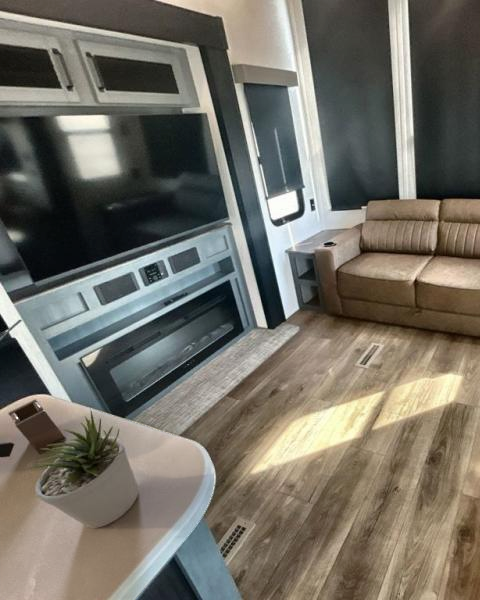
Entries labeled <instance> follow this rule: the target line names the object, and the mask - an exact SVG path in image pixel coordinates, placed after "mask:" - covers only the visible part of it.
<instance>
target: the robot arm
mask: <svg viewBox="0 0 480 600" xmlns="http://www.w3.org/2000/svg"><path fill="white" fill-rule="evenodd" d="M22 321H23V320H22V319H18V320H17V321H16V322H15V323H14V324H13V325H11V326H10V327H9V328H8V329H7V330H8V331H7V330H6V331H7V332H6V331H5V332H6V333H5V332H4V333H5V334H4V333H3V334H4V335H3V334H2V335H3V336H2V335H1V336H0V342H2V340H3V339H4V338H5V337H6V336H7V335H8V334H9V333H10V332H11V331H12V330H13V329H14V328H16V327H17V326H18V325H19V324H20V323H21V322H22ZM14 447H15V443H14V442H0V458H10V456H11V454H12V452H13V449H14Z"/></svg>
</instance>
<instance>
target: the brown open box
mask: <svg viewBox="0 0 480 600" xmlns="http://www.w3.org/2000/svg"><path fill="white" fill-rule="evenodd" d="M8 416H10V417H11V420H12V421H13V422H14V425H15V427H16V428H17V430H19V432H20V433H21V434H22V435H23V436H24V437H25V439H26V440H27V441H28V442H29V444H30V445H31V446H32V447H33V448H34V449H35V450H36V451H37V453H38V454H39V455H41V454H43V453H45V452H46V451H47V450H42V449H47V448H48V449H52V448H54V446H47V445H51V444H59V443H62V442H63V441H65V440H67V438H66V436H65V435H64V433H63V432H62V430H61V429H59V428H60V427H58V425H56V423H55V422H54V421H53V419H52V418H51V417H50V416H49V415H48V413H47V412H46V410H45V409H44V407H42V405H41V404H40V403H39V401H38V400H37V398H36V399H33V400H31V401H29V402H27V403H25V404H23V405H21V406H19V407H17V408H15V409H12V410H11V411H9V412H8Z"/></svg>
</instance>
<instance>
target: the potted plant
mask: <svg viewBox="0 0 480 600" xmlns="http://www.w3.org/2000/svg"><path fill="white" fill-rule="evenodd" d="M89 411H90V419H88V417H86V416H84V419H85V421H86V425H85V424H84V423H83V422H82V421H79V422H80V425H82V427H83V428H84V431H85V435H84V434H82V433H79V432H76V431H73V430H70V429H65V428H62V427H61V428H60V427H58V428H59V430H61V431H65V432H67V433H69V434H72V435H73V436H74V437H76V438H72V439H70V441H74V442H60V443H58V444H51V445H47V446H53V447H52V448H50V449H48V448H47V449H42V450H46V451H51V452H54V453H57V454H54V455H51V456H48V457H44V458H41V459H39V460H38V461H37V462H38V463H37V464H38V465H35V466H31V467H29V468H28V470H29V469H35V468H36V469H37V468H42V467H43V468H44V467H47V468H46V469H45V470H44V471H43V472H42V474H41V475H40V477H39V478H38V480H37V482H36V484H35V486H34V493H35V496H36V498H38V499H39V500H41V501H43V502H44V503H46V504H49V505H51V506H53V507H54V508H56V509H58V510H59V511H61V512H63V513H64V514H66V515H67V516H68V517H70V518H71V519H74V520H75V521H76V522H78V523H79V524H81V525H83V526H85V527H87V528H90V529H96V528H102V527H105V526H107V525H109V524H111V523H113V522H115V521H117V520H118V519H120V518H121V517H122V516H124V515H125V514H126V512H128V511H129V510H130V508H131V507H133V505H134V503H135V501H136V499H137V498H138V495H139V487H138V483H137V480H136V477H135V474H134V472H133V469H132V467H131V464H130V462H129V461H130V460H129V459H128V456H127V451H126V447H125V445H124V443H123V441H122V439H120V438H119V434H120V429H117V433H116V436H110V435H111V433H112V431H113V428H114V426H113V425H112V426H111V427H110V429H109V430H108V432H107V433H106V430H104V429H103V432H104V435H105V436H101V431H102V419H101V418H99V425H98V428H97V426H96V423H95V420H94V415H93V411H92V409H90V410H89ZM86 426H87V427H86ZM97 429H98V430H97ZM50 460H55V461H54V462H44V461H50Z"/></svg>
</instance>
